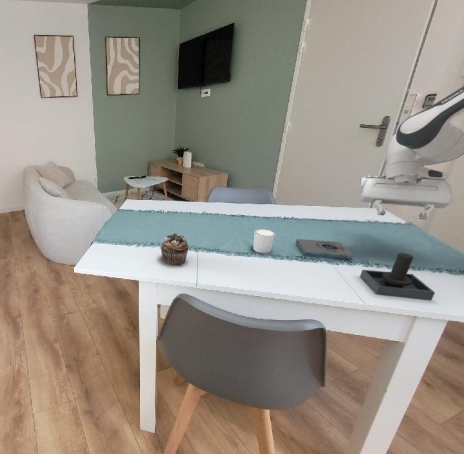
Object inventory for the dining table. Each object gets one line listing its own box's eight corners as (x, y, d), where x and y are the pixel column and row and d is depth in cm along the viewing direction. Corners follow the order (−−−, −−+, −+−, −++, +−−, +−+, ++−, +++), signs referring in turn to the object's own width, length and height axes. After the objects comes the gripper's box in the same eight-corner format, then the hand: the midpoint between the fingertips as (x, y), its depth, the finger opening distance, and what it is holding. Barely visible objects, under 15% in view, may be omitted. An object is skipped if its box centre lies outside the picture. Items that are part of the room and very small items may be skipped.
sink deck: (338, 246, 107) (340, 241, 106) (351, 259, 98) (353, 254, 97) (295, 243, 111) (296, 238, 110) (304, 256, 102) (305, 251, 101)
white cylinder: (272, 247, 109) (276, 230, 106) (271, 255, 104) (275, 237, 101) (252, 244, 112) (255, 227, 110) (250, 251, 107) (253, 234, 104)
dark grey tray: (409, 281, 86) (412, 274, 85) (431, 300, 78) (435, 292, 77) (359, 276, 89) (362, 269, 88) (376, 294, 81) (378, 286, 80)
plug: (399, 281, 85) (412, 251, 81) (413, 293, 80) (427, 261, 76) (375, 279, 87) (386, 249, 83) (386, 290, 81) (398, 259, 78)
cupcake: (192, 257, 105) (194, 232, 101) (180, 269, 98) (181, 243, 94) (168, 251, 111) (169, 227, 107) (155, 261, 104) (155, 236, 100)
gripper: (364, 169, 94) (361, 207, 90) (455, 173, 84) (456, 216, 80) (357, 180, 99) (354, 216, 95) (443, 184, 89) (443, 225, 85)
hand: (402, 216), depth 88 cm, fingers open, 8 cm apart
